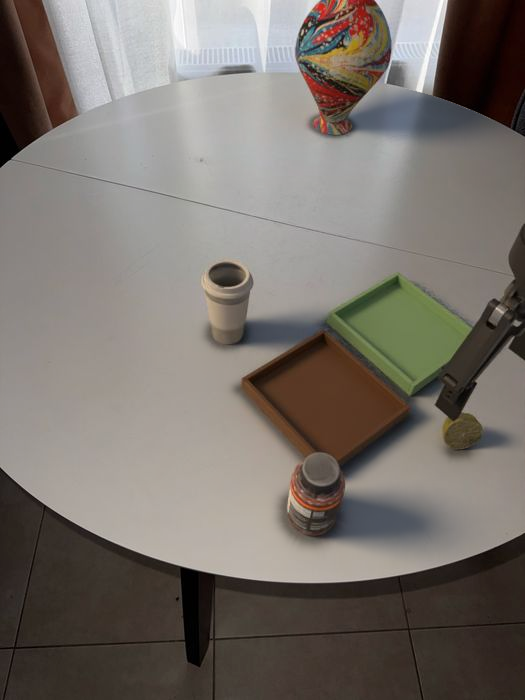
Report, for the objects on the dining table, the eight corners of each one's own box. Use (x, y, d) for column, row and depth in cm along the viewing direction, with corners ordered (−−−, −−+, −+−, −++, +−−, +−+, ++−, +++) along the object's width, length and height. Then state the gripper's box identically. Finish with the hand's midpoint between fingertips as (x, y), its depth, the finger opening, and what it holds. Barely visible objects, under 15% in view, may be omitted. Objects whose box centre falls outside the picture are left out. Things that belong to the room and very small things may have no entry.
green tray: (478, 346, 87) (483, 336, 85) (410, 396, 81) (414, 386, 79) (394, 282, 95) (397, 271, 94) (326, 322, 89) (328, 312, 87)
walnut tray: (407, 416, 79) (411, 406, 77) (324, 478, 72) (327, 469, 70) (322, 339, 87) (324, 328, 85) (241, 388, 80) (241, 378, 79)
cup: (197, 343, 85) (193, 284, 76) (212, 312, 89) (210, 252, 80) (244, 354, 84) (245, 296, 75) (256, 322, 88) (259, 263, 79)
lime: (480, 442, 76) (493, 422, 73) (456, 461, 74) (468, 441, 71) (454, 419, 79) (465, 398, 75) (430, 437, 77) (440, 416, 73)
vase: (284, 143, 121) (296, -19, 98) (293, 99, 133) (306, -54, 110) (375, 153, 120) (409, -9, 97) (376, 108, 132) (406, -45, 109)
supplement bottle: (317, 482, 72) (329, 434, 63) (345, 522, 69) (362, 477, 60) (276, 504, 70) (282, 458, 61) (303, 547, 67) (314, 504, 58)
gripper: (604, 168, 57) (520, 314, 74) (440, 272, 47) (385, 415, 63) (677, 207, 54) (572, 351, 70) (518, 328, 43) (438, 464, 60)
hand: (484, 381), depth 67 cm, fingers open, 13 cm apart
